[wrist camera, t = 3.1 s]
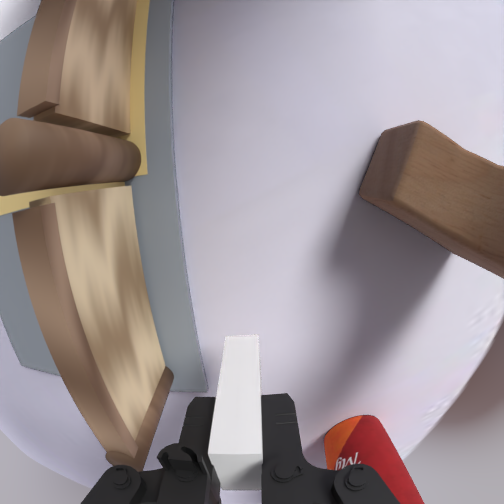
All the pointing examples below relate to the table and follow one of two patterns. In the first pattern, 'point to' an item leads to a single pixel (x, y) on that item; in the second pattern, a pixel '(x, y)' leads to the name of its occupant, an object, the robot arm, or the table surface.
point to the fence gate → (97, 314)
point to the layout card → (144, 201)
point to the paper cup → (370, 454)
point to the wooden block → (440, 192)
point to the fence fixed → (73, 100)
